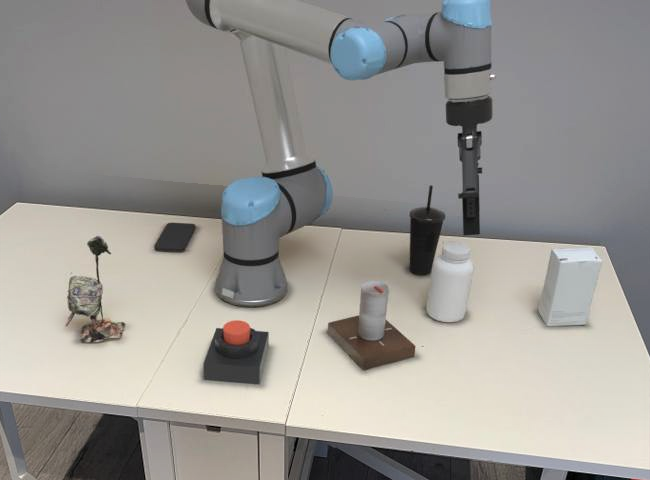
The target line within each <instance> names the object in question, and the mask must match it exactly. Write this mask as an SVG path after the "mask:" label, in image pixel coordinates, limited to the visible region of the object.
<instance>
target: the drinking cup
mask: <svg viewBox="0 0 650 480" xmlns="http://www.w3.org/2000/svg"><path fill="white" fill-rule="evenodd" d="M433 188H434V186H433V185H429V187H428V195H427V202H426V203H427V204H426V206H420V207H415V208H413V209H411V210H410V211H409V218H410V221H409V222H410V226H409V267H408V268H409V269H408V271H409V272H410V273H411V274H413V275H415V276H421V277H424V276H428V275H430V274H432V268H433V263H434V260H435V257H436V252H437V249H438V245H439V241H440V236H441V232H442V229H443V224H444V221H445V220H446V214H445V212H443V211H442V210H440V209H438V208H435V207H432V206H431V205H432V203H431V202H432V196H433Z"/></svg>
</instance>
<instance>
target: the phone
mask: <svg viewBox="0 0 650 480" xmlns="http://www.w3.org/2000/svg"><path fill="white" fill-rule="evenodd" d="M196 227H197V226H196V224H195V223H187V222H167V223H166V225H165V226H164V228H163V229H162V231H161V233H160V235H159V237H158V239H157V240H156V242H155V243H154V246H153V248H154V250H155V251H160V252H161V251H162V252H176V253H177V252H178V253H179V252H181V253H182V252H184V251H185V250H186V248H187V247H188V244H189V243H190V241H191V238H192V237H193V234H194V233H195V230H196Z"/></svg>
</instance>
